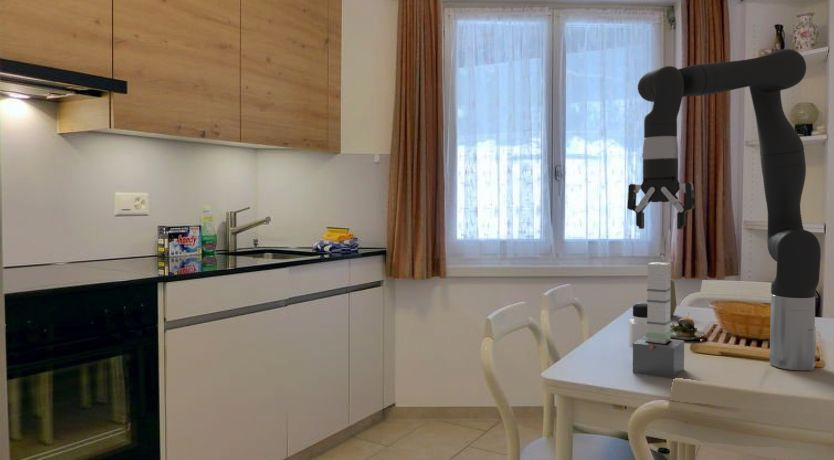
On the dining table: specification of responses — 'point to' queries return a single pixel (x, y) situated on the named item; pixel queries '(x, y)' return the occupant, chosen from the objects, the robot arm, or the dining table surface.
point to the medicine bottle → (638, 323)
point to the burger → (686, 330)
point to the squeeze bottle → (672, 299)
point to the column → (659, 302)
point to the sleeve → (658, 358)
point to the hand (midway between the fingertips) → (660, 228)
